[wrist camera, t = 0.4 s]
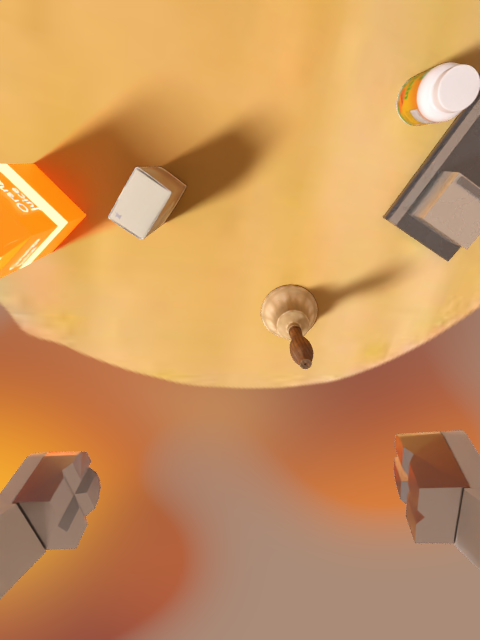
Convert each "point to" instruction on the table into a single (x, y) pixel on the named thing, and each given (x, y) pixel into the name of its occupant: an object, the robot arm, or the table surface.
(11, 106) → the table surface
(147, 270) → the table surface
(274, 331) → the hand bell
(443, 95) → the supplement bottle
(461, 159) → the rail plate
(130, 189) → the skincare box
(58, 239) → the orange juice
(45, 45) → the table surface
